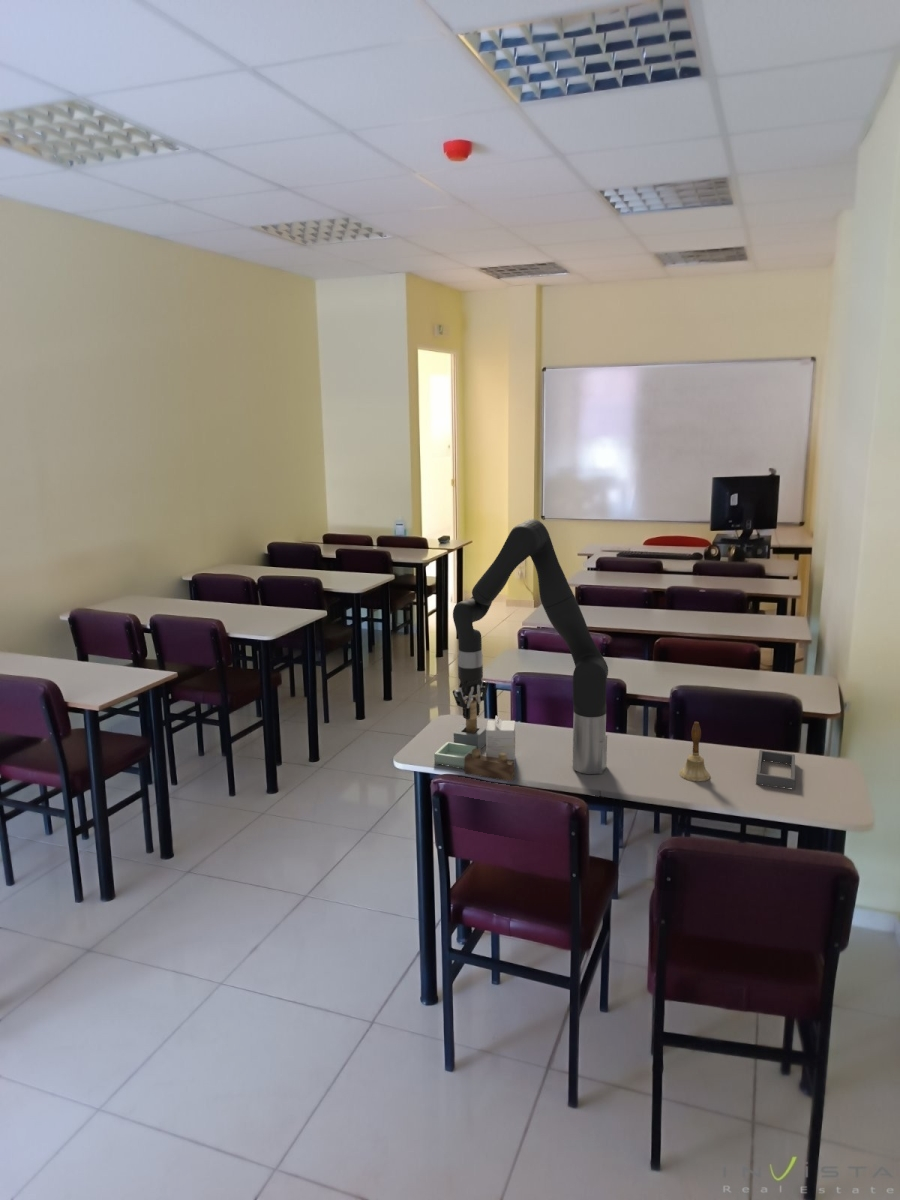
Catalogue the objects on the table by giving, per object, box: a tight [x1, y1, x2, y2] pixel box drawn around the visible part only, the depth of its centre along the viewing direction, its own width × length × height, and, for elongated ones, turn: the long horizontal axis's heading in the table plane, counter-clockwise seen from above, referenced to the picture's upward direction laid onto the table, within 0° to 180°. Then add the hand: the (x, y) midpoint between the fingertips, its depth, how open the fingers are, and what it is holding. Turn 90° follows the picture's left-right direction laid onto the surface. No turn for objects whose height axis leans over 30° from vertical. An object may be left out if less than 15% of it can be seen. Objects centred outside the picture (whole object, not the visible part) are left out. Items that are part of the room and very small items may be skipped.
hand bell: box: [679, 721, 711, 782], centre depth 224 cm, size 8×8×16 cm
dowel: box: [465, 700, 478, 734], centre depth 247 cm, size 3×3×10 cm
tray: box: [433, 741, 477, 770], centre depth 237 cm, size 10×10×3 cm
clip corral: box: [755, 749, 796, 790], centre depth 225 cm, size 10×18×3 cm, turn 157°
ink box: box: [485, 715, 516, 762], centre depth 235 cm, size 9×8×13 cm
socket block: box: [453, 723, 487, 750], centre depth 248 cm, size 8×8×5 cm
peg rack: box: [464, 749, 516, 782], centre depth 227 cm, size 14×3×7 cm, turn 67°
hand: (471, 716), depth 247 cm, fingers closed on dowel, 3 cm apart
